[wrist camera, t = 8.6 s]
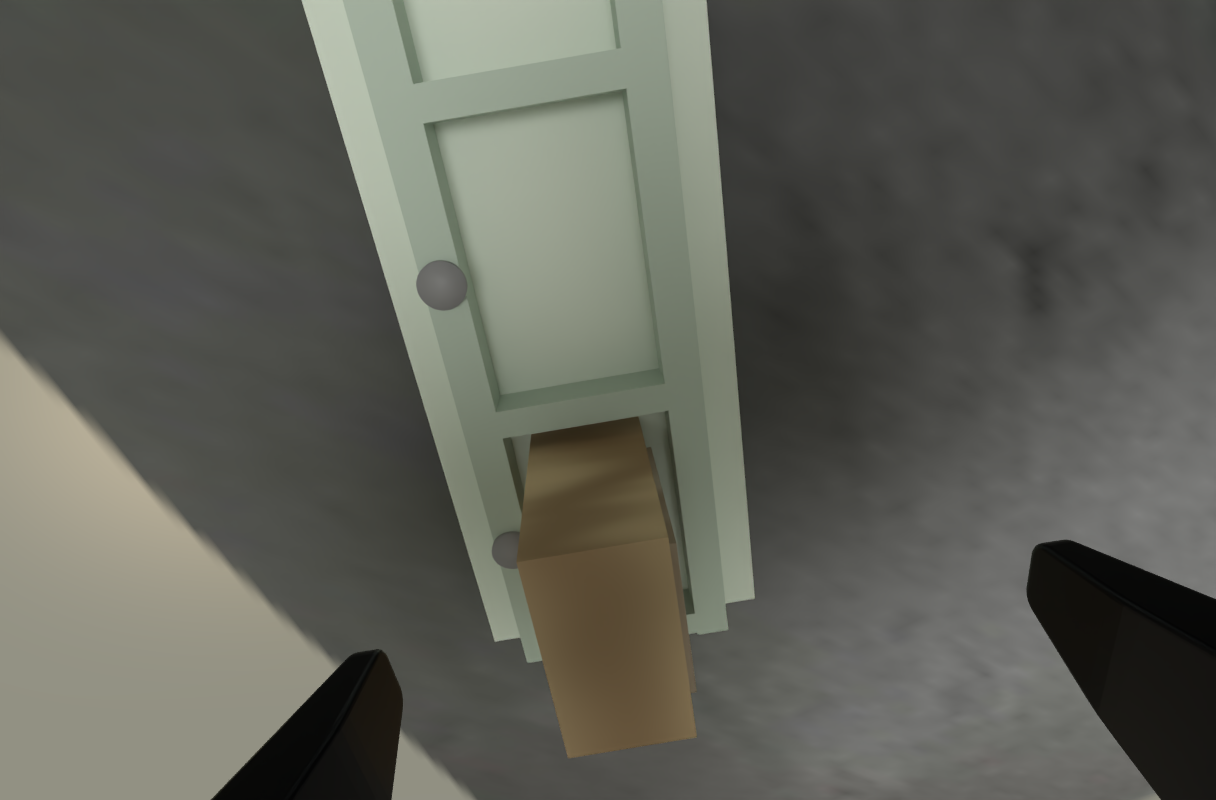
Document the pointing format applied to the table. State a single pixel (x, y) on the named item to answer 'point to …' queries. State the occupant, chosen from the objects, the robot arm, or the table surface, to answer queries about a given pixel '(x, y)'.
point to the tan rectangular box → (605, 589)
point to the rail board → (552, 254)
